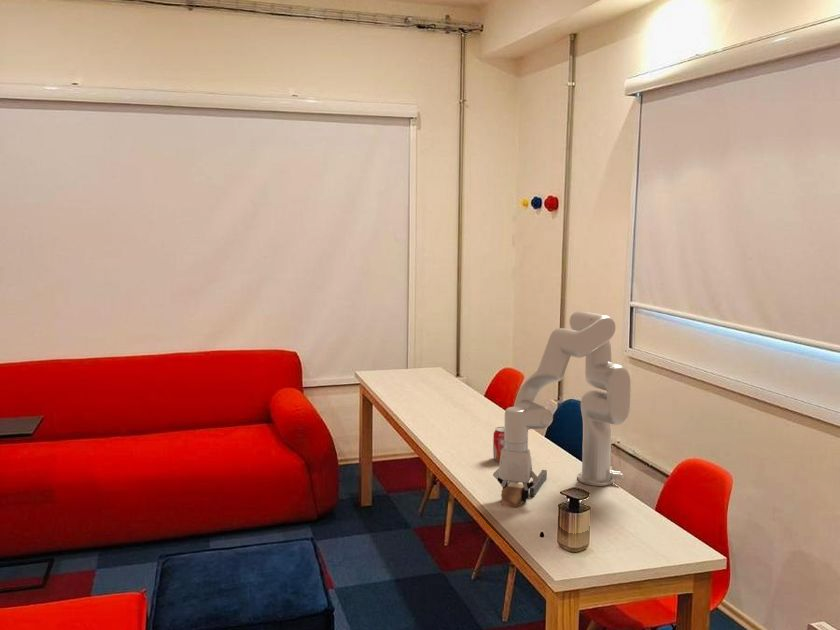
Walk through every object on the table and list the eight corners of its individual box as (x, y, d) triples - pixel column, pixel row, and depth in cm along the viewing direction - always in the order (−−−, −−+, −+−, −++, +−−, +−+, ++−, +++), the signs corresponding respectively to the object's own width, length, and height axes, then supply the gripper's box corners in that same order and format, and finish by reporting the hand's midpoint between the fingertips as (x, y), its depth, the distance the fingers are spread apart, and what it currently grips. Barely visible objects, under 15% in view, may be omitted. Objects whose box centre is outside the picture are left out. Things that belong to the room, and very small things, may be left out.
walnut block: (525, 499, 244) (525, 485, 243) (515, 508, 237) (516, 493, 237) (511, 496, 247) (511, 482, 246) (501, 505, 240) (501, 490, 239)
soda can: (500, 455, 287) (500, 425, 285) (515, 459, 282) (516, 428, 280) (489, 460, 281) (489, 429, 279) (505, 464, 277) (505, 433, 275)
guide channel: (546, 478, 262) (546, 470, 262) (533, 497, 246) (534, 488, 245) (519, 474, 266) (520, 466, 266) (505, 493, 250) (505, 484, 249)
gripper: (486, 446, 240) (486, 499, 243) (539, 452, 234) (538, 507, 236) (493, 439, 247) (493, 491, 250) (545, 445, 240) (544, 498, 243)
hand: (515, 498), depth 243 cm, fingers open, 5 cm apart
